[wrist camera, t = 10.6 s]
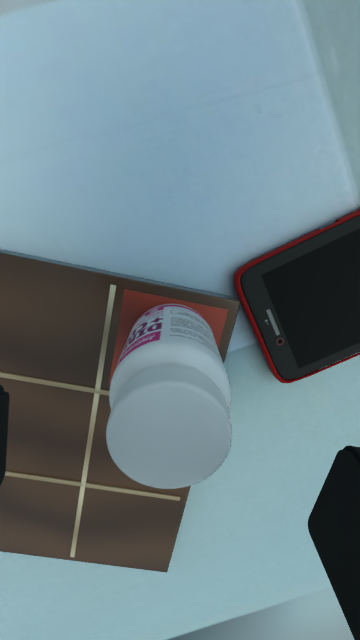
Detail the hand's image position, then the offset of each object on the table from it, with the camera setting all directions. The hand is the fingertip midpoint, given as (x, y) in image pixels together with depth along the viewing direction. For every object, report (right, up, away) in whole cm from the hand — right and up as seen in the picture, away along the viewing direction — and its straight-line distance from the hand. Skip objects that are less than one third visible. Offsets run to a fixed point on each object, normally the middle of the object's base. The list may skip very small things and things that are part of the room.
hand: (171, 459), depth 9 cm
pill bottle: (0, +3, +9) cm, 10 cm away
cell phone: (+11, +6, +9) cm, 16 cm away
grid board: (-9, -3, +12) cm, 15 cm away
